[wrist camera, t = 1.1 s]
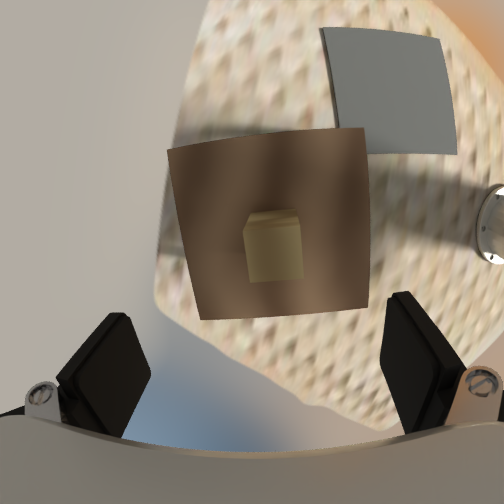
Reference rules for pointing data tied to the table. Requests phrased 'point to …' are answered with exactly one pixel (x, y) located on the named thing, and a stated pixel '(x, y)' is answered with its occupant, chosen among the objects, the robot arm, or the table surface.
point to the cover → (275, 222)
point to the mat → (392, 90)
